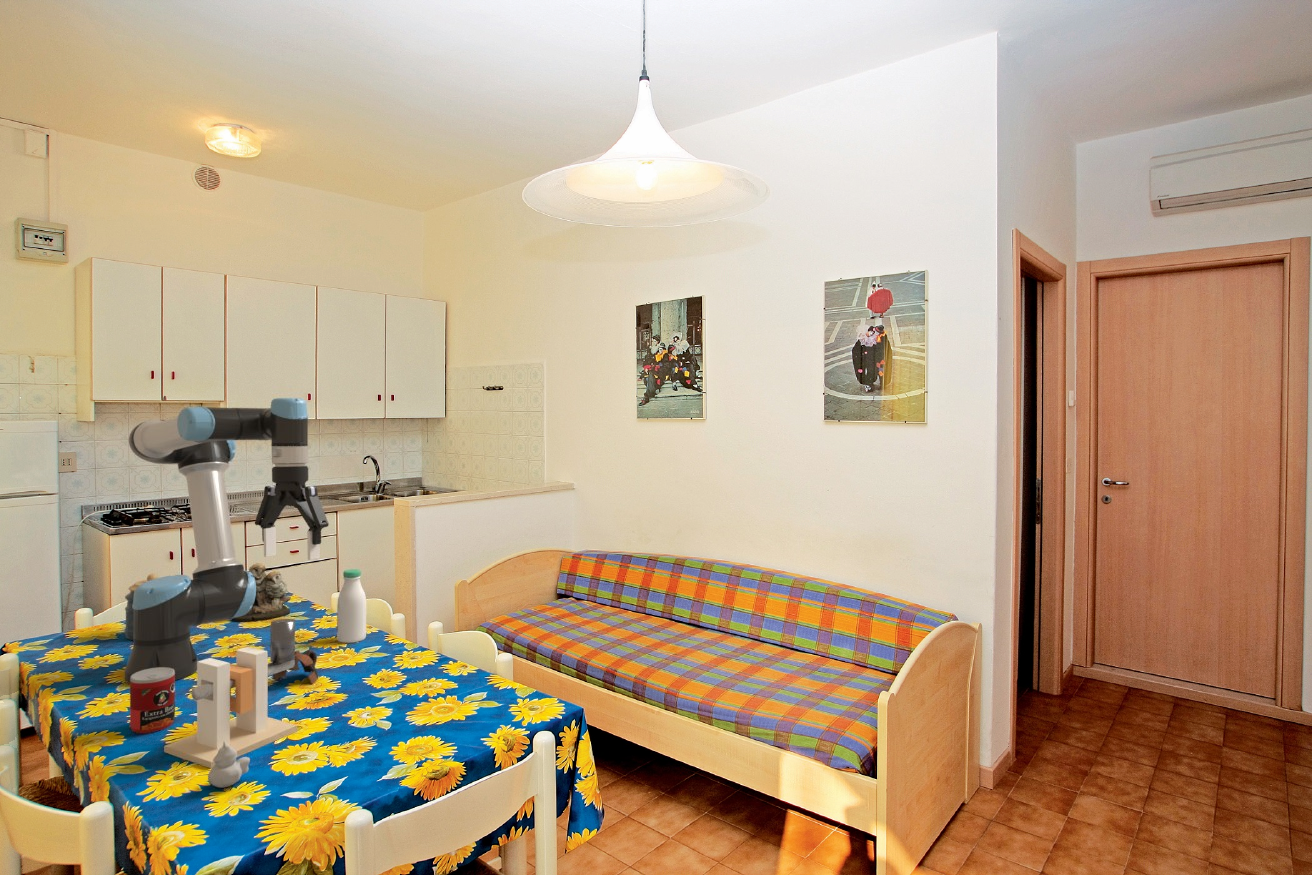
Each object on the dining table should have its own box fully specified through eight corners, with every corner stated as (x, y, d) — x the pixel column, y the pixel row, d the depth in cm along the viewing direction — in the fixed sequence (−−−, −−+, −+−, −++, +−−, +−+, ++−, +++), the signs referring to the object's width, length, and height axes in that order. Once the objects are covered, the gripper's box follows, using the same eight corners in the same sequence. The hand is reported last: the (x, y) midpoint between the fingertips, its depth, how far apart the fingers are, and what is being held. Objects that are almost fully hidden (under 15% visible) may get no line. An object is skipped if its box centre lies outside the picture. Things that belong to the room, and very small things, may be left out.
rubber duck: (203, 785, 128) (203, 740, 128) (243, 771, 133) (244, 728, 133) (214, 796, 125) (214, 749, 125) (255, 782, 130) (255, 737, 129)
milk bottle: (371, 638, 213) (372, 569, 212) (348, 645, 206) (348, 574, 206) (355, 633, 217) (355, 566, 216) (331, 640, 210) (331, 570, 210)
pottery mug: (309, 690, 174) (290, 663, 172) (278, 704, 175) (258, 677, 174) (334, 661, 185) (316, 635, 183) (304, 675, 187) (286, 649, 185)
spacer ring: (213, 706, 146) (214, 666, 146) (226, 701, 148) (226, 662, 148) (240, 713, 142) (240, 673, 142) (252, 709, 145) (252, 669, 144)
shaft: (203, 702, 137) (203, 647, 137) (187, 698, 139) (187, 643, 139) (299, 668, 156) (299, 620, 156) (284, 665, 158) (285, 617, 158)
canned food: (141, 737, 146) (141, 682, 146) (122, 727, 151) (122, 674, 150) (182, 724, 153) (182, 671, 153) (163, 715, 157) (163, 664, 157)
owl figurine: (230, 625, 223) (230, 570, 222) (222, 617, 232) (222, 563, 231) (294, 615, 235) (294, 562, 234) (284, 608, 243) (284, 557, 243)
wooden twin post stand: (164, 752, 140) (164, 664, 140) (251, 717, 157) (251, 638, 156) (211, 768, 134) (211, 676, 134) (297, 731, 150) (297, 649, 150)
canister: (168, 625, 222) (168, 567, 221) (187, 633, 214) (187, 573, 214) (117, 635, 211) (117, 574, 211) (135, 644, 204) (135, 581, 203)
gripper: (236, 465, 170) (238, 557, 170) (317, 466, 161) (319, 562, 161) (264, 464, 177) (266, 552, 177) (344, 464, 168) (345, 557, 168)
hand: (291, 557), depth 169 cm, fingers open, 13 cm apart
